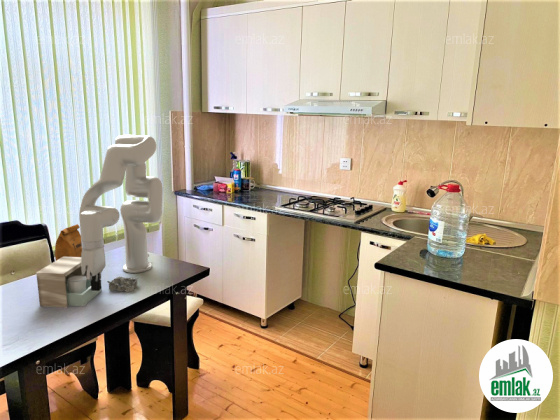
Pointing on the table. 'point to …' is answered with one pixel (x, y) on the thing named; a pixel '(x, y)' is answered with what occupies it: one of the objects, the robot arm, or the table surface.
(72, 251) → the coffee package
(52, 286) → the beige wooden block
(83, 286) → the shot glass
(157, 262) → the table surface
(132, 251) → the robot arm
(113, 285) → the egg carton
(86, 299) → the tray
